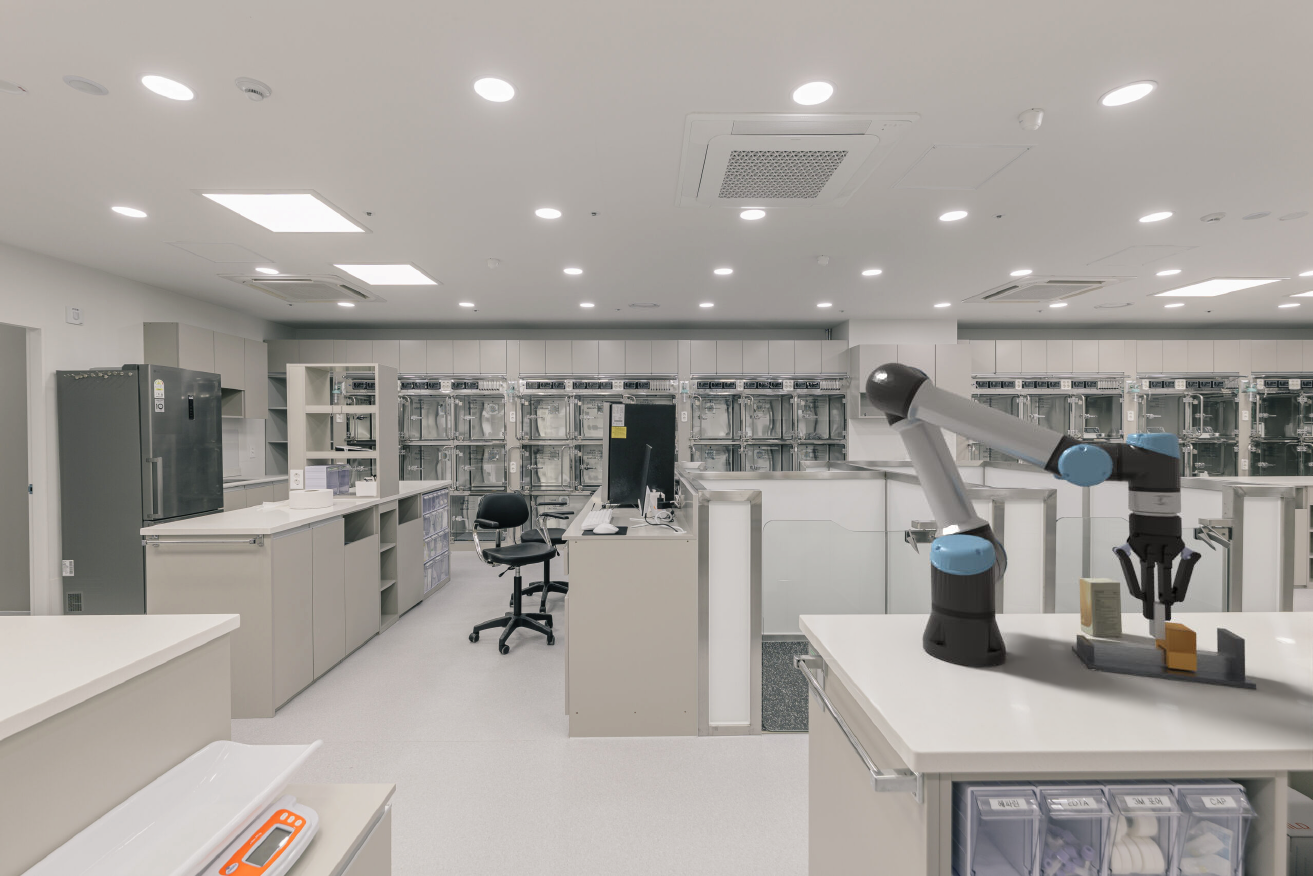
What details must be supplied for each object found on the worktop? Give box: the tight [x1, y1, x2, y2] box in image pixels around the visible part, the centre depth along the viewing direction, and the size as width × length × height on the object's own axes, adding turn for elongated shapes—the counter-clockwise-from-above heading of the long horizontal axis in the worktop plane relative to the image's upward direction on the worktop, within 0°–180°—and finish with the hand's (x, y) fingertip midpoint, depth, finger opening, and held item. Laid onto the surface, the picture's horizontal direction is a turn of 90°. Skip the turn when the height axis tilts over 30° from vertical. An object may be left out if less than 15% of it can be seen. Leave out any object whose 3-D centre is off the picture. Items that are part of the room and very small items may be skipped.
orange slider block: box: [1155, 621, 1198, 671], centre depth 105 cm, size 4×5×7 cm
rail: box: [1071, 627, 1257, 690], centre depth 106 cm, size 24×10×8 cm, turn 68°
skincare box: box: [1078, 577, 1123, 638], centre depth 124 cm, size 6×4×12 cm
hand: (1157, 636), depth 106 cm, fingers closed
